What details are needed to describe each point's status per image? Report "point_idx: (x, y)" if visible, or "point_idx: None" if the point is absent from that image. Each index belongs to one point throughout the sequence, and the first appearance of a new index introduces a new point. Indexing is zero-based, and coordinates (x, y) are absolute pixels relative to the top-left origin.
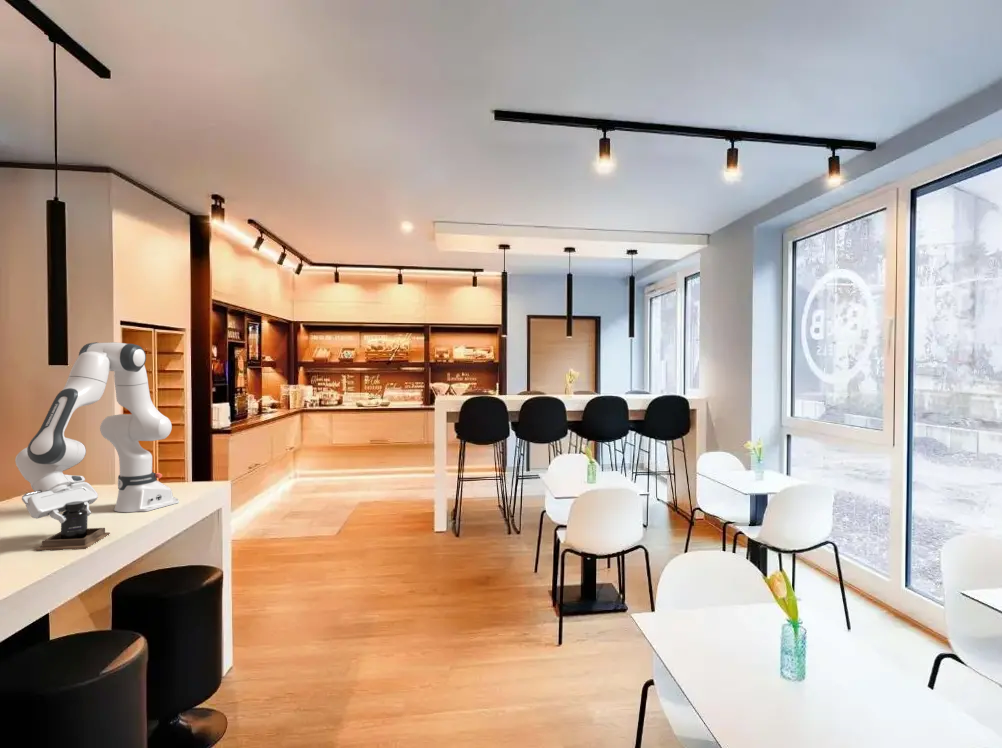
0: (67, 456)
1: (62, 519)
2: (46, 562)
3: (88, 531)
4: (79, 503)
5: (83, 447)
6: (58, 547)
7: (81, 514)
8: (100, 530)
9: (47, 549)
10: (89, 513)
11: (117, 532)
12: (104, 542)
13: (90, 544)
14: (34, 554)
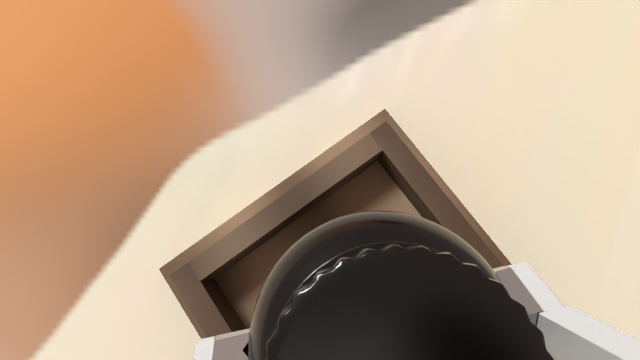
0: None
1: (536, 281)
2: (597, 74)
3: None
4: (386, 260)
5: None
6: (483, 234)
7: (367, 213)
8: (223, 237)
9: None
10: (221, 334)
11: (116, 273)
12: (271, 142)
13: (350, 133)
14: (591, 277)
